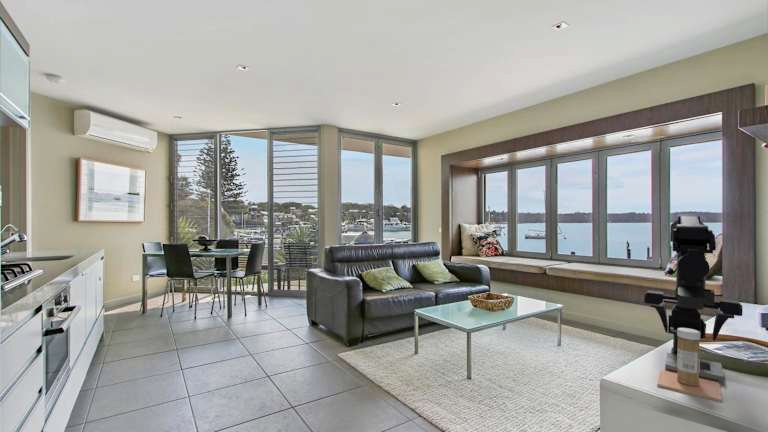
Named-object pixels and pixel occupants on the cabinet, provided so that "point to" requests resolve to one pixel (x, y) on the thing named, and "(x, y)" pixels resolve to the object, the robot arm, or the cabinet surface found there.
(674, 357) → the collar stand
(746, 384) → the cabinet surface
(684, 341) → the sprinkles bottle
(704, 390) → the terracotta tile
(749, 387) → the cabinet surface
